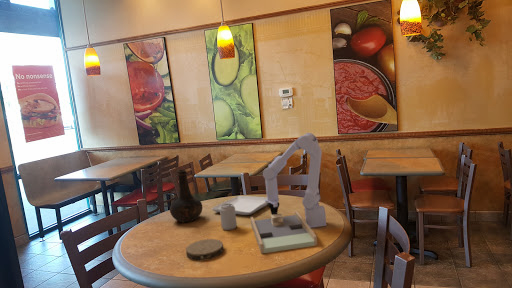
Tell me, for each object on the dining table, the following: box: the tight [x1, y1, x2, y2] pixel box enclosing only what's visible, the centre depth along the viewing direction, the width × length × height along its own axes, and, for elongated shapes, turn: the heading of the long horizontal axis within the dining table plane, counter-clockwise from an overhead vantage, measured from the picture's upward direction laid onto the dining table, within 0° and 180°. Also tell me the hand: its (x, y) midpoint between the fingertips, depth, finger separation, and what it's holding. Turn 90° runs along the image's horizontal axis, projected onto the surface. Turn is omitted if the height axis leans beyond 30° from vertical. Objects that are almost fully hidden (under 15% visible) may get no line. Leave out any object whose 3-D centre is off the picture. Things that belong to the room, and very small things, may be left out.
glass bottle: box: [169, 169, 203, 223], centre depth 211 cm, size 18×18×28 cm
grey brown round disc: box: [185, 238, 225, 261], centre depth 166 cm, size 16×16×3 cm
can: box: [219, 204, 238, 231], centre depth 192 cm, size 8×8×12 cm
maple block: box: [270, 213, 284, 226], centre depth 186 cm, size 5×5×4 cm
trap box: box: [249, 210, 318, 254], centre depth 177 cm, size 24×36×4 cm, turn 7°
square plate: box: [211, 195, 269, 216], centre depth 223 cm, size 27×27×4 cm
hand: (274, 216), depth 193 cm, fingers closed
